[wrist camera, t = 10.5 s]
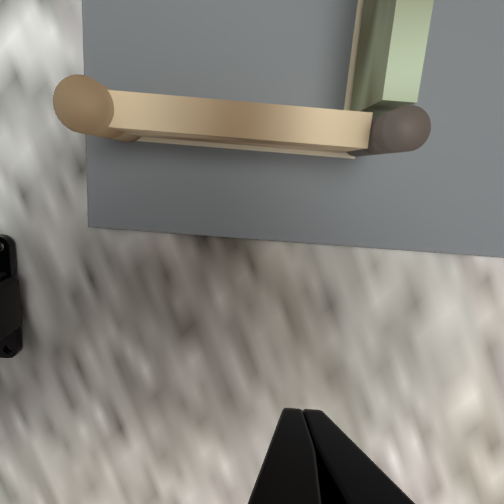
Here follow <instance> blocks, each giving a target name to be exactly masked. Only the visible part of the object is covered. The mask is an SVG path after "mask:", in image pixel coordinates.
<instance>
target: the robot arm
mask: <svg viewBox="0 0 504 504" xmlns="http://www.w3.org/2000/svg"><path fill="white" fill-rule="evenodd" d="M0 242H1V243H2V244H3V245H4V250H3V249H1V248H0V358H12V357H14V356H15V355H17V354H18V353H19V352H20V351H21V350H22V339H21V325H22V316H21V303H20V290H19V280H18V279H17V274H16V261H15V248H14V242H13V241H12V239H11V238H10V237H8V236H6V235H0ZM8 345H10V346H11V347H12V349H13V350H11V349H9V348H8ZM248 504H415V503H414V502H413V501H412V500H411V499H410V498H409V497H408V496H407V495H406V494H405V493H404V492H403V491H402V490H401V489H400V488H399V487H398V486H397V485H396V484H395V483H394V482H393V481H392V480H391V479H390V478H389V477H388V476H387V475H386V474H385V473H384V472H383V471H382V470H381V469H380V468H379V467H378V466H377V465H376V464H375V463H374V462H373V461H372V460H371V459H370V458H369V457H368V456H367V455H366V454H365V453H364V452H363V451H362V450H361V449H360V448H359V447H358V446H357V445H356V444H355V443H354V442H353V441H352V440H351V439H350V438H349V437H348V436H347V435H346V434H345V433H344V432H343V431H342V430H341V429H340V428H339V427H338V426H337V425H336V424H335V423H334V422H333V421H332V420H331V419H330V418H329V417H328V416H327V415H326V414H325V413H324V412H322V411H321V410H312V409H304V410H303V411H302V410H301V409H295V408H284V409H283V410H282V413H281V416H280V418H279V421H278V424H277V426H276V429H275V432H274V435H273V437H272V440H271V443H270V445H269V448H268V451H267V453H266V456H265V459H264V461H263V464H262V467H261V470H260V472H259V475H258V478H257V480H256V483H255V486H254V488H253V491H252V494H251V496H250V499H249V502H248Z"/></svg>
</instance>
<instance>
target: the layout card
mask: <svg viewBox="0 0 504 504" xmlns="http://www.w3.org/2000/svg"><path fill="white" fill-rule="evenodd" d="M363 3H364V0H82V16H83V53H84V75H85V76H88V77H90V78H92V79H94V80H95V81H97V82H99V83H101V84H102V85H104V86H106V87H108V88H109V89H111V90H116V91H128V92H139V93H151V94H162V95H174V96H186V97H197V98H209V99H221V100H232V101H244V102H255V103H267V104H279V105H290V106H302V107H314V108H325V109H337V110H348V111H350V107H351V99H352V91H353V83H354V75H355V67H356V59H357V51H358V43H359V35H360V27H361V19H362V11H363ZM412 105H415V106H419V107H421V108H422V109H424V110H425V111H426V113H427V114H428V116H429V118H430V121H431V131H430V135H429V137H428V139H427V141H426V142H425V143H424V144H423V145H422V146H421V147H420V148H418V149H416V150H414V151H410V152H400V153H389V154H379V155H368V156H358V157H355V156H351V155H349V154H348V153H347V152H342V153H335V152H323V151H310V150H298V149H286V148H274V147H262V146H250V145H237V144H225V143H213V142H201V141H189V140H177V139H164V138H152V137H141V138H140V139H138V140H136V141H135V142H130V143H127V142H122V141H117V140H112V139H107V138H102V137H98V136H93V135H88V134H86V162H87V199H88V227H96V228H109V229H123V230H136V231H150V232H163V233H177V234H191V235H204V236H218V237H231V238H245V239H258V240H272V241H285V242H299V243H313V244H326V245H340V246H353V247H367V248H380V249H394V250H407V251H421V252H434V253H448V254H462V255H475V256H489V257H502V258H504V0H434V3H433V9H432V15H431V21H430V27H429V33H428V39H427V45H426V51H425V57H424V63H423V69H422V76H421V82H420V88H419V94H418V100H417V103H415V104H412ZM372 119H373V118H372Z"/></svg>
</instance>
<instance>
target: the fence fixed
mask: <svg viewBox="0 0 504 504" xmlns="http://www.w3.org/2000/svg"><path fill="white" fill-rule="evenodd" d="M53 105H54V110H55V113H56V115H57V117H58V118H59V120H60V121H61V122H62V123H63V124H64V125H65V126H66V127H67V128H69V129H70V130H72V131H75V132H78V133H83V134H88V135H93V136H98V137H102V138H107V139H112V140H117V141H122V142H127V143H130V142H135V141H136V140H138V139H140V138H141V137H152V138H164V139H177V140H189V141H201V142H213V143H225V144H237V145H250V146H262V147H274V148H286V149H298V150H310V151H323V152H335V153H342V152H347V153H348V154H349V155H351V156H355V157H358V156H368V155H379V154H389V153H400V152H410V151H414V150H416V149H418V148H420V147H421V146H422V145H423V144H424V143H425V142H426V141H427V139H428V137H429V135H430V131H431V121H430V118H429V116H428V114H427V113H426V111H425V110H424V109H422V108H421V107H419V106H415V105H407V106H404V107H401V108H398V109H396V110H393V111H391V112H388V113H386V114H383V115H380V116H378V117H375V118H373V119H372V115H373V113H372V112H360V111H348V110H337V109H325V108H314V107H302V106H290V105H279V104H267V103H255V102H244V101H232V100H221V99H209V98H197V97H186V96H174V95H162V94H151V93H139V92H128V91H116V90H111V89H109V88H108V87H106V86H104V85H102V84H101V83H99V82H97V81H95V80H94V79H92V78H90V77H88V76H85V75H71V76H68V77H66V78H65V79H63V80H62V81H61V82H60V83H59V84H58V86H57V87H56V89H55V92H54V96H53Z"/></svg>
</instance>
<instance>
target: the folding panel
mask: <svg viewBox="0 0 504 504" xmlns="http://www.w3.org/2000/svg"><path fill="white" fill-rule="evenodd" d="M433 3H434V0H364V3H363V11H362V19H361V27H360V35H359V43H358V51H357V59H356V67H355V75H354V83H353V91H352V99H351V107H350V111H360V112H372V113H373V115H372V118H375V117H378V116H380V115H383V114H386V113H388V112H391V111H393V110H396V109H398V108H401V107H404V106H407V105H412V104H415V103H417V100H418V94H419V88H420V82H421V76H422V69H423V63H424V57H425V51H426V45H427V39H428V33H429V27H430V21H431V15H432V9H433Z"/></svg>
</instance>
